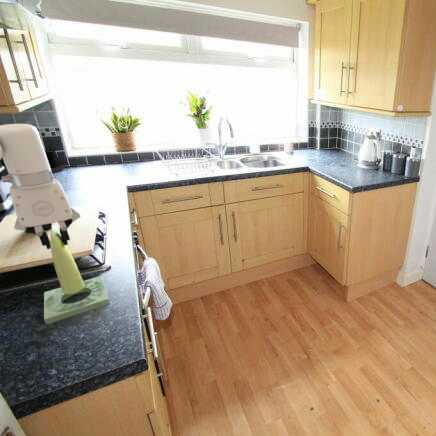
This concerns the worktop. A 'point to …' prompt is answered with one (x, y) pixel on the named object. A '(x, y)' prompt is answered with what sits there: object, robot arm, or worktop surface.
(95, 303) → the base pad
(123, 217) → the worktop surface
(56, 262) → the yellow-green tapered cone
